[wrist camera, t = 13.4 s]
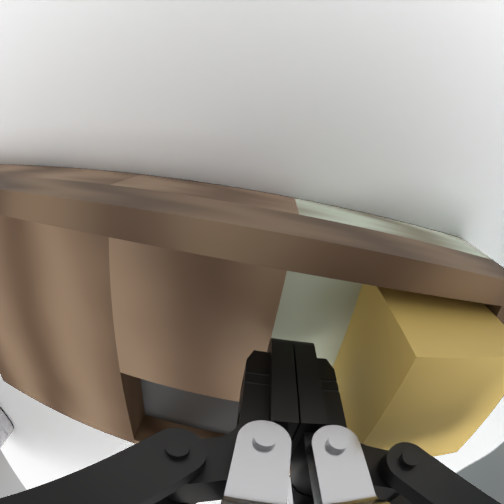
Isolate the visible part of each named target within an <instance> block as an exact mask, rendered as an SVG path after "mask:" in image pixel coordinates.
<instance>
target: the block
mask: <svg viewBox="0 0 504 504" xmlns="http://www.w3.org/2000/svg"><path fill="white" fill-rule="evenodd" d="M333 368H334V370H335V375H336V379H337V383H338V388H339V392H340V397H341V401H342V406H343V411H344V415H345V420H346V425H347V428H348V429H349V430H351V431H352V432H353V433H354V434H355V435H356V436H357V437H358V439H359V441H360V443H362V444H364V445H367V446H371V447H375V448H379V449H384V450H389V449H390V448H391V447H392V446H393V445H395V444H397V443H400V442H410V443H413V444H415V445H417V446H419V447H420V448H422V449H423V450H424V451H426V452H427V453H428V454H430V455H431V456H432V457H433V456H439V455H444V454H449V453H454V452H457V451H458V450H459V449H460V448H461V447H462V446H463V445H464V444H465V443H466V441H467V440H468V439H469V438H470V437H471V436H472V435H473V434H474V432H475V431H476V430H477V429H478V428H479V427H480V425H481V424H482V423H483V422H484V421H485V419H486V418H487V417H488V416H489V414H490V413H491V412H492V411H493V409H494V408H495V407H496V405H497V404H498V403H499V401H500V400H501V399H502V397H503V396H504V324H503V323H502V322H501V321H500V320H499V319H498V318H497V317H496V316H495V315H494V314H493V313H492V312H491V311H490V310H489V308H488V307H487V306H486V305H485V304H484V303H477V302H471V301H464V300H458V299H452V298H446V297H439V296H433V295H427V294H421V293H415V292H409V291H403V290H397V289H391V288H385V287H379V286H373V285H367V284H362V287H361V290H360V293H359V296H358V299H357V302H356V305H355V308H354V311H353V314H352V317H351V320H350V323H349V325H348V328H347V331H346V334H345V336H344V339H343V342H342V344H341V347H340V350H339V352H338V355H337V357H336V360H335V362H334V365H333Z"/></svg>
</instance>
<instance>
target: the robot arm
mask: <svg viewBox="0 0 504 504" xmlns="http://www.w3.org/2000/svg"><path fill="white" fill-rule="evenodd" d="M12 431H13V426H12V424H11V422H10V421H9V419H8V418H7V416H6V415H5V414H4V412H3V411H2V410H1V409H0V448H1V446H2V445H3V444H4V442H5V441H6V439H7V438H8V436H9V435H10V433H11V432H12ZM290 464H291V474H290V475H289V473H290ZM287 498H288V504H500V503H499V502H497V501H496V500H494V499H493V498H491V497H490V496H488V495H486V494H485V493H484V492H482V491H481V490H479V489H478V488H476V487H475V486H473V485H472V484H470V483H469V482H467V481H466V480H465V479H463V478H462V477H460V476H459V475H458V474H456V473H455V472H453V471H452V470H450V469H449V468H448V467H446V466H445V465H444V464H442V463H441V462H439V461H438V460H437V459H435V458H434V457H432V456H431V455H430V454H428V453H427V452H426V451H424V450H423V449H422V448H420V447H419V446H417V445H415V444H413V443H410V442H400V443H397V444H395V445H393V446H392V447H391V448H390V449H389V450H384V449H379V448H375V447H371V446H367V445H364V444H362V443H360V441H359V439H358V437H357V436H356V435H355V434H354V433H353V432H352V431H351V430H349V429H348V428H347V425H346V420H345V415H344V411H343V406H342V401H341V397H340V392H339V388H338V383H337V379H336V375H335V370H334V368H333V367H332V366H331V364H330V363H329V362H328V360H327V359H324V358H317V356H316V350H315V345H314V343H308V342H300V341H291V340H284V339H276V338H271V339H270V342H269V346H268V350H267V352H263V351H256V350H254V351H253V352H252V353H251V355H250V356H249V357H248V358H247V360H246V365H245V370H244V375H243V380H242V385H241V391H240V399H239V408H238V416H237V424H236V428H235V429H234V430H233V431H232V432H230V433H229V434H226V435H224V436H221V437H215V438H204V439H201V438H200V437H199V436H198V435H196V434H195V433H193V432H191V431H189V430H186V429H183V428H168V429H164V430H162V431H160V432H158V433H156V434H154V435H152V436H150V437H148V438H146V439H145V440H143V441H141V442H139V443H137V444H135V445H133V446H131V447H129V448H127V449H125V450H123V451H121V452H119V453H117V454H115V455H112V456H110V457H108V458H106V459H104V460H102V461H100V462H97V463H95V464H93V465H91V466H88V467H86V468H84V469H81V470H79V471H77V472H74V473H72V474H69V475H67V476H64V477H62V478H59V479H57V480H54V481H51V482H49V483H46V484H43V485H41V486H38V487H35V488H32V489H29V490H26V491H23V492H20V493H17V494H14V495H10V496H7V497H3V498H0V504H196V503H197V502H204V501H213V500H221V499H222V501H221V504H287Z"/></svg>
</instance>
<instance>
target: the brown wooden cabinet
mask: <svg viewBox="0 0 504 504" xmlns="http://www.w3.org/2000/svg"><path fill="white" fill-rule="evenodd" d="M362 284H367V285H373V286H379V287H385V288H391V289H397V290H403V291H409V292H415V293H421V294H427V295H433V296H439V297H446V298H452V299H458V300H464V301H471V302H477V303H484V304H485V305H486V306H487V307H488V308H489V310H490V311H491V312H492V313H493V314H494V315H495V316H496V317H497V318H498V319H499V320H500V321H501V322H502V323H503V324H504V268H503V267H502V266H500V265H499V264H498V263H496V262H495V261H494V260H492V259H491V258H489V257H488V256H487V255H485V254H484V253H482V252H481V251H479V250H478V249H477V248H475V247H474V246H472V245H471V244H469V243H468V242H466V241H465V240H463V239H462V238H459V237H456V236H452V235H449V234H445V233H442V232H438V231H434V230H431V229H427V228H423V227H420V226H416V225H412V224H408V223H404V222H400V221H396V220H392V219H388V218H384V217H380V216H376V215H371V214H367V213H363V212H358V211H354V210H350V209H345V208H340V207H336V206H331V205H326V204H322V203H317V202H312V201H307V200H302V199H297V198H292V197H286V196H281V195H276V194H270V193H265V192H259V191H253V190H247V189H241V188H235V187H229V186H223V185H216V184H210V183H203V182H196V181H189V180H182V179H174V178H166V177H158V176H150V175H142V174H133V173H123V172H113V171H103V170H92V169H80V168H66V167H51V166H32V165H4V164H0V374H1V376H2V378H3V380H4V381H5V382H6V383H8V384H10V385H11V386H13V387H14V388H16V389H18V390H19V391H21V392H23V393H24V394H26V395H28V396H30V397H31V398H33V399H35V400H37V401H39V402H40V403H42V404H44V405H46V406H48V407H50V408H52V409H54V410H56V411H58V412H60V413H62V414H64V415H66V416H68V417H70V418H72V419H75V420H77V421H79V422H81V423H84V424H86V425H88V426H91V427H93V428H95V429H98V430H100V431H103V432H105V433H108V434H110V435H113V436H116V437H118V438H121V439H124V440H127V441H130V442H133V443H136V444H137V443H139V442H141V441H143V440H145V439H146V438H148V437H150V436H152V435H154V434H156V433H158V432H160V431H162V430H164V429H168V428H183V429H186V430H189V431H191V432H193V433H195V434H196V435H198V436H199V437H200V438H201V439H204V438H215V437H221V436H224V435H226V434H229V433H230V432H232V431H233V430H234V429H235V428H236V424H237V416H238V408H239V399H240V391H241V385H242V380H243V375H244V370H245V365H246V360H247V358H248V357H249V356H250V355H251V353H252V352H253V351H254V350H256V351H263V352H267V350H268V346H269V342H270V339H271V338H276V339H284V340H291V341H300V342H308V343H314V345H315V350H316V356H317V358H324V359H327V360H328V362H329V363H330V364H331V366H332V367H333V365H334V362H335V360H336V357H337V355H338V352H339V350H340V347H341V344H342V342H343V339H344V336H345V334H346V331H347V328H348V325H349V323H350V320H351V317H352V314H353V311H354V308H355V305H356V302H357V299H358V296H359V293H360V290H361V287H362ZM289 474H291V464H290V473H289Z"/></svg>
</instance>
